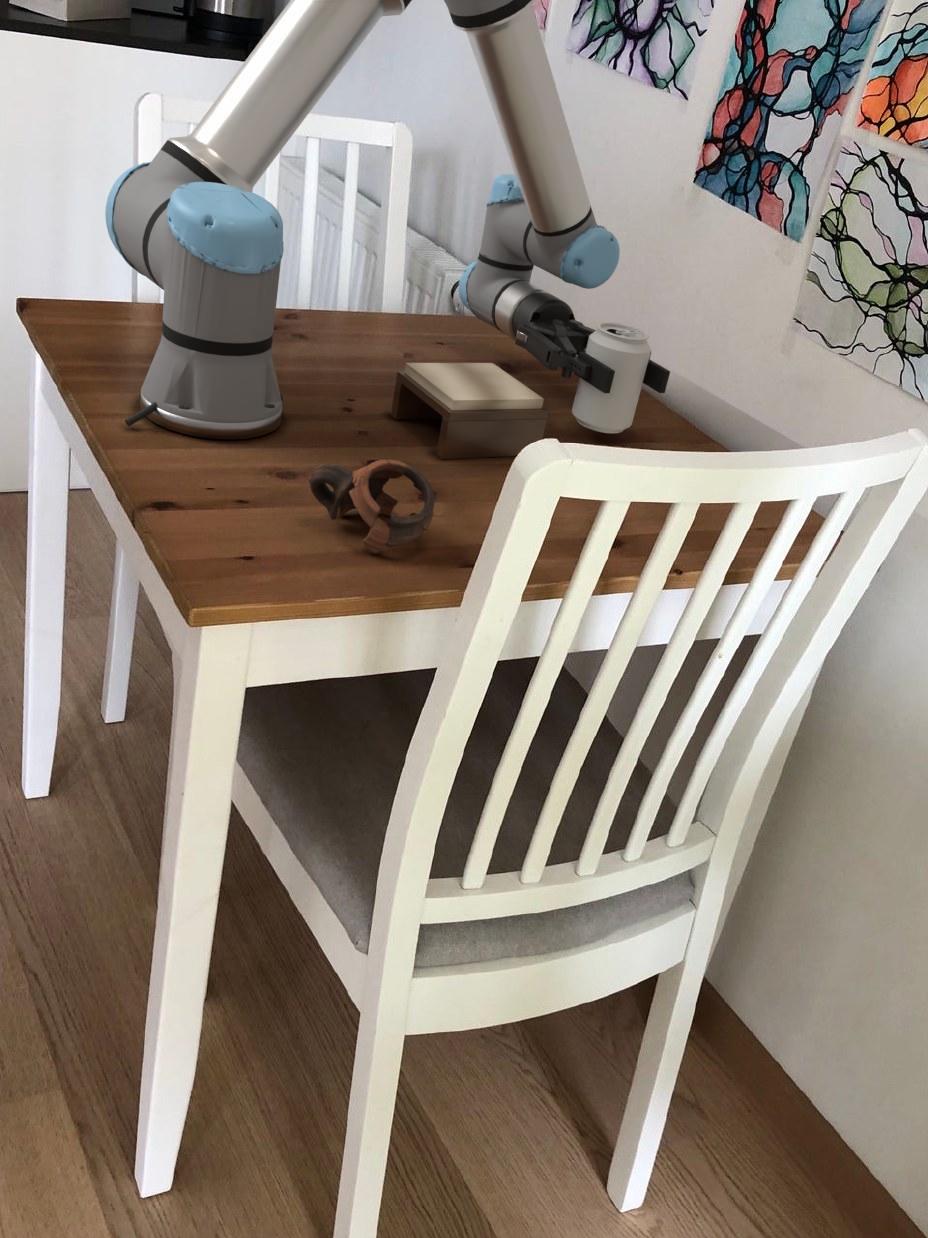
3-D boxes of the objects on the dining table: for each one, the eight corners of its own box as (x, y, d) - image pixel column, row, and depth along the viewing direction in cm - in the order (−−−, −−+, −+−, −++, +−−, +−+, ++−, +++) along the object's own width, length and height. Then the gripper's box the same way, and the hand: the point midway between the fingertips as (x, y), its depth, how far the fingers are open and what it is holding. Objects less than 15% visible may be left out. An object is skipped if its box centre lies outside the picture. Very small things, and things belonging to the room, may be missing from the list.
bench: (441, 459, 137) (451, 402, 134) (390, 415, 146) (398, 360, 143) (539, 455, 143) (551, 400, 140) (484, 413, 153) (494, 360, 149)
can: (572, 408, 155) (594, 314, 149) (631, 421, 154) (655, 327, 149) (567, 426, 148) (590, 329, 143) (628, 440, 148) (653, 343, 142)
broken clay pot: (418, 518, 123) (450, 469, 117) (401, 593, 118) (434, 546, 111) (304, 473, 120) (331, 421, 114) (282, 548, 115) (309, 497, 108)
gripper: (592, 348, 168) (695, 411, 151) (463, 346, 158) (559, 413, 141) (605, 294, 164) (712, 352, 148) (474, 287, 154) (573, 349, 137)
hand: (637, 382), depth 144 cm, fingers closed on can, 7 cm apart
